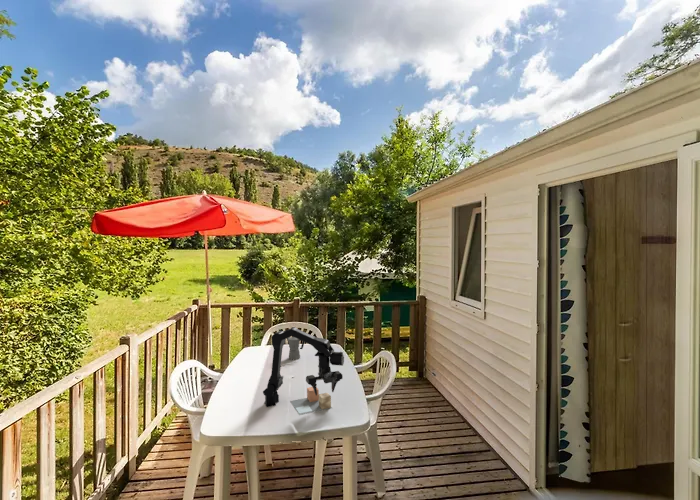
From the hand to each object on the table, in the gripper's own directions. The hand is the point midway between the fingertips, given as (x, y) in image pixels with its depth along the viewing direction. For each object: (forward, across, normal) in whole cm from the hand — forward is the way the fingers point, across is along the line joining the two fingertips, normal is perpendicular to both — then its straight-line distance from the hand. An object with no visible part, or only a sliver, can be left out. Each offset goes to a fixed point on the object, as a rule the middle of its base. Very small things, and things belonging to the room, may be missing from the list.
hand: (324, 393), depth 195 cm
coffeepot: (+8, +9, +88) cm, 89 cm away
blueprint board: (+8, -6, +5) cm, 11 cm away
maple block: (+7, 0, 0) cm, 7 cm away
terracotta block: (+7, -3, +11) cm, 13 cm away
